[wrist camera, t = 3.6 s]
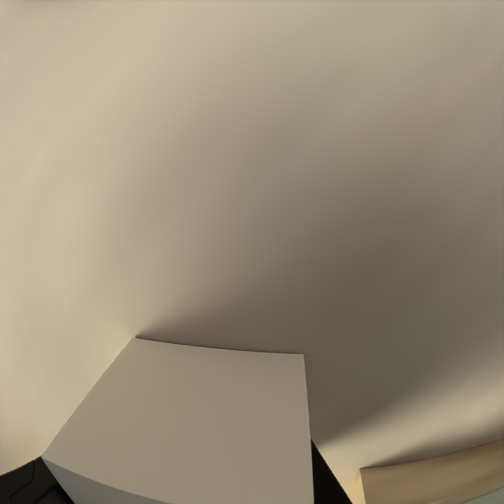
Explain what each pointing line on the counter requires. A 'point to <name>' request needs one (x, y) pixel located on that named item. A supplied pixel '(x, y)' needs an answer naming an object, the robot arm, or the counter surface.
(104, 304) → the counter surface
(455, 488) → the tower base
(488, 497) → the tower top
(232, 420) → the cube
